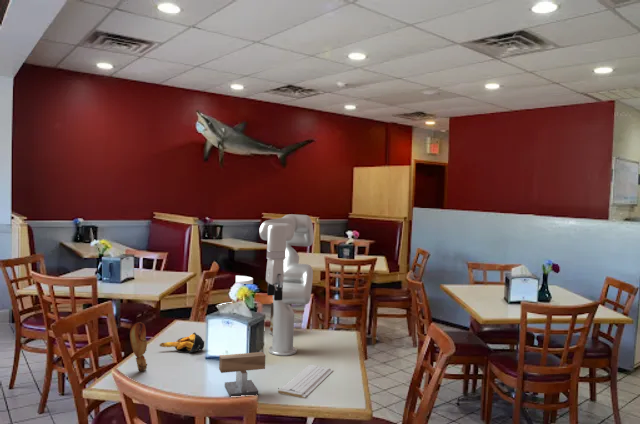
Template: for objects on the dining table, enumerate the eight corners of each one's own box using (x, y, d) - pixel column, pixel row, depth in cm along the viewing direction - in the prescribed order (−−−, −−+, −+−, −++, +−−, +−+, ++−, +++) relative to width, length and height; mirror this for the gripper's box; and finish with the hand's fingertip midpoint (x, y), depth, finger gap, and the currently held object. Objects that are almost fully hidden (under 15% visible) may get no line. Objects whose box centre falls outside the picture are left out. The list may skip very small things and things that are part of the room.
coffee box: (268, 334, 258) (270, 303, 257) (275, 331, 264) (276, 301, 263) (284, 337, 254) (286, 305, 254) (290, 334, 260) (291, 303, 260)
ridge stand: (224, 386, 188) (225, 365, 187) (251, 383, 191) (251, 362, 191) (230, 398, 178) (231, 375, 177) (258, 395, 181) (259, 373, 181)
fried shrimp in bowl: (207, 344, 223) (168, 334, 216) (197, 363, 226) (158, 354, 219) (207, 331, 231) (168, 321, 224) (197, 349, 234) (159, 340, 227)
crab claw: (127, 372, 197) (129, 322, 197) (134, 368, 202) (136, 318, 202) (144, 374, 196) (145, 323, 196) (150, 370, 201) (152, 320, 201)
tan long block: (219, 369, 183) (219, 355, 183) (262, 365, 189) (262, 351, 189) (221, 372, 179) (221, 358, 179) (264, 368, 185) (265, 355, 185)
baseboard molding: (336, 372, 209) (309, 368, 213) (336, 365, 209) (309, 361, 213) (308, 400, 180) (277, 394, 184) (308, 392, 180) (278, 386, 184)
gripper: (261, 252, 210) (260, 293, 210) (273, 258, 194) (271, 302, 194) (278, 252, 212) (277, 293, 213) (291, 258, 196) (290, 301, 197)
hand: (274, 297), depth 204 cm, fingers open, 9 cm apart
